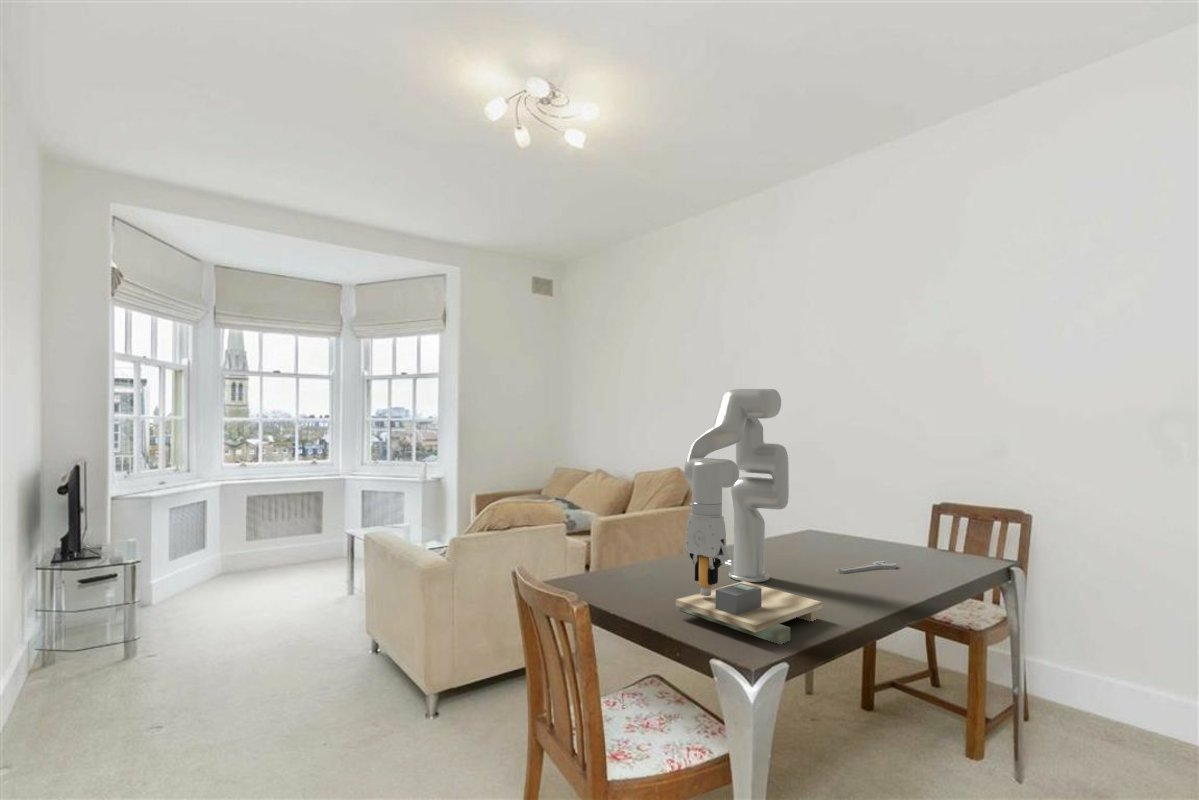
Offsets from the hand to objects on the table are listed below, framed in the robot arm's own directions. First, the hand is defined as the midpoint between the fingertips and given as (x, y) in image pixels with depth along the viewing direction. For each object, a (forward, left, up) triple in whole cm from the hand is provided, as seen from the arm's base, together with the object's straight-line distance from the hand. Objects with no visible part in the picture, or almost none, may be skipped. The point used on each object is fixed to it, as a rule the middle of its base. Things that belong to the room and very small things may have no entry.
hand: (706, 581), depth 154 cm
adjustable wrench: (+1, +81, -9) cm, 82 cm away
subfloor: (+8, +7, -9) cm, 14 cm away
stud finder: (+10, 0, -4) cm, 11 cm away
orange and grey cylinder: (0, 0, -3) cm, 3 cm away
